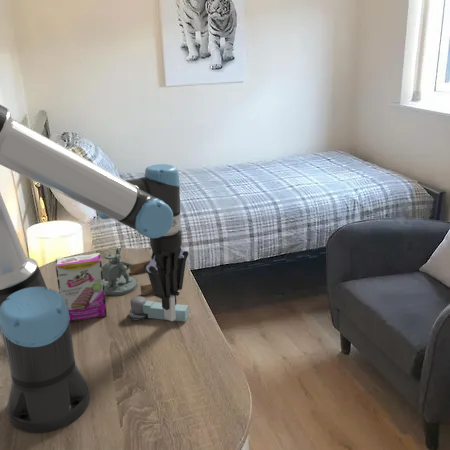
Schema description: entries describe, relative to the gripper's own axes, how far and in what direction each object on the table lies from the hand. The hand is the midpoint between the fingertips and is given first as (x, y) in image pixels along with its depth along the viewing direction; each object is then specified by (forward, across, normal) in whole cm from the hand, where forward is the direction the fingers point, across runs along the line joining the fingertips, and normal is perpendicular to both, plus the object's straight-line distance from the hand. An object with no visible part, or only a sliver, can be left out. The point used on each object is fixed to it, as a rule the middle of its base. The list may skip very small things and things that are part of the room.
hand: (170, 318), depth 126 cm
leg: (+1, +1, +5) cm, 5 cm away
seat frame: (+1, +13, +22) cm, 26 cm away
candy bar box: (+2, -11, +20) cm, 23 cm away
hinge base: (+2, +2, +9) cm, 9 cm away
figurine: (+2, +5, +26) cm, 27 cm away
